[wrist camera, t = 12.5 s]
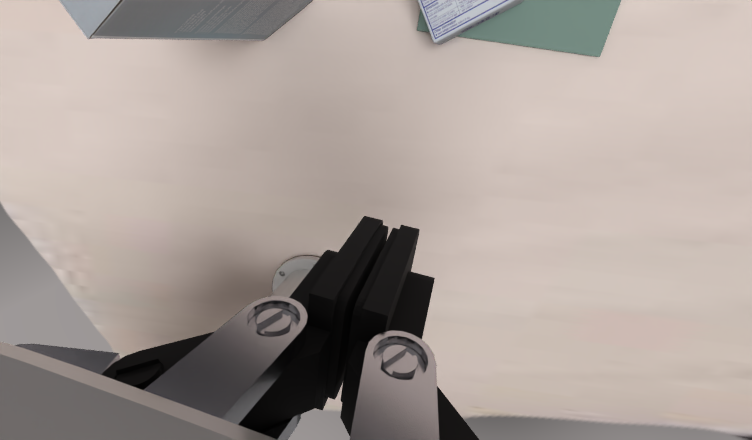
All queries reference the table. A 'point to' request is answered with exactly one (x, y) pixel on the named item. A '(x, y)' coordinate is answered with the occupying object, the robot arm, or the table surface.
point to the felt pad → (549, 25)
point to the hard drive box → (182, 18)
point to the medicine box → (460, 15)
